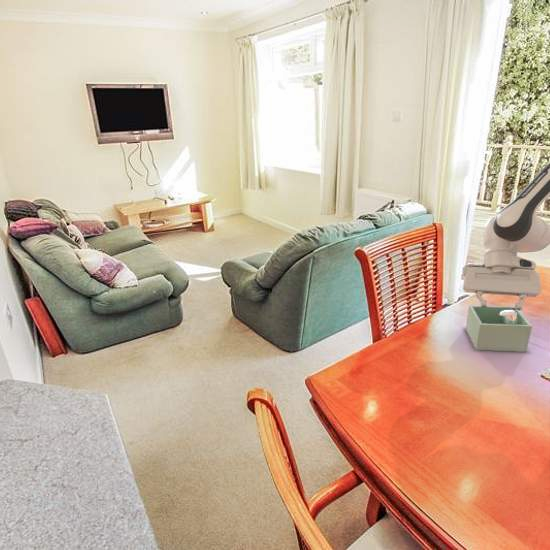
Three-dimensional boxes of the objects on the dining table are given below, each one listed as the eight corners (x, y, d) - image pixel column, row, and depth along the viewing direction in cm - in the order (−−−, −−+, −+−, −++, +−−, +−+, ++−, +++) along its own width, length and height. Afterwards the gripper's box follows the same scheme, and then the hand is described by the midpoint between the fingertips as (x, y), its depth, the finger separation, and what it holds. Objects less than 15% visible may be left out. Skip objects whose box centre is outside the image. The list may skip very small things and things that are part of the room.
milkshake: (517, 342, 108) (511, 308, 108) (500, 341, 113) (494, 308, 113) (528, 339, 109) (522, 305, 109) (511, 337, 114) (505, 305, 114)
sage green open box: (511, 330, 120) (516, 306, 116) (526, 351, 109) (532, 326, 106) (465, 328, 122) (469, 305, 119) (475, 349, 112) (479, 324, 109)
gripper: (464, 259, 116) (463, 302, 111) (542, 262, 109) (544, 308, 105) (461, 267, 121) (460, 307, 117) (534, 270, 115) (537, 314, 110)
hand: (500, 308), depth 111 cm, fingers open, 8 cm apart
